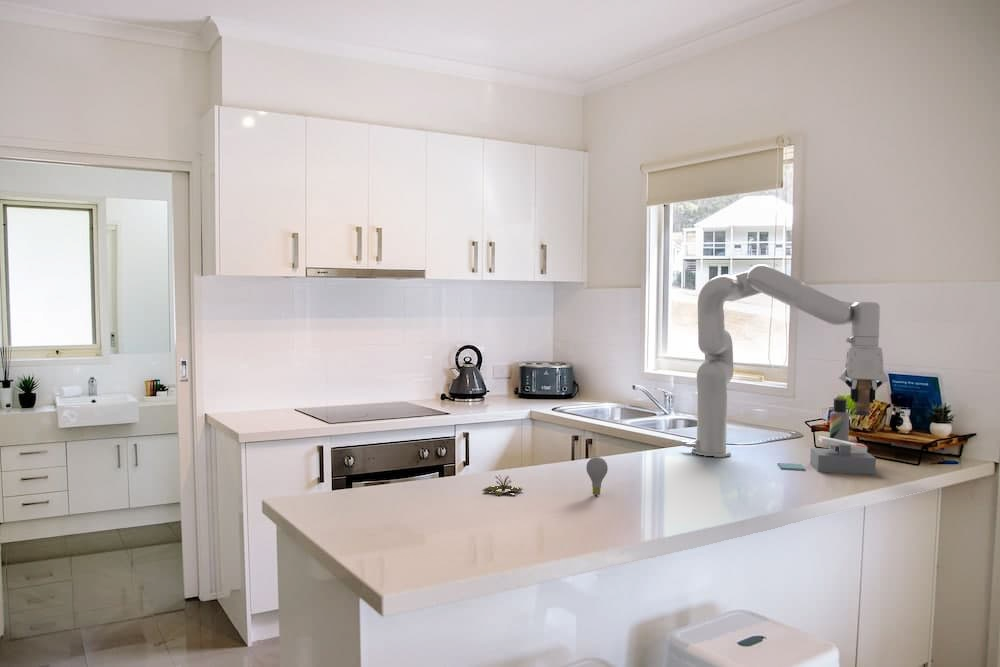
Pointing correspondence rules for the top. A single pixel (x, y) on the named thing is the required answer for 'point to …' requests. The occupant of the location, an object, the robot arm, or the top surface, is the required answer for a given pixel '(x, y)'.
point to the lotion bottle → (839, 421)
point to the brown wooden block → (863, 397)
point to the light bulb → (596, 473)
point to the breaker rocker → (843, 443)
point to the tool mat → (791, 466)
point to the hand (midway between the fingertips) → (862, 401)
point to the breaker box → (842, 460)
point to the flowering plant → (501, 487)
